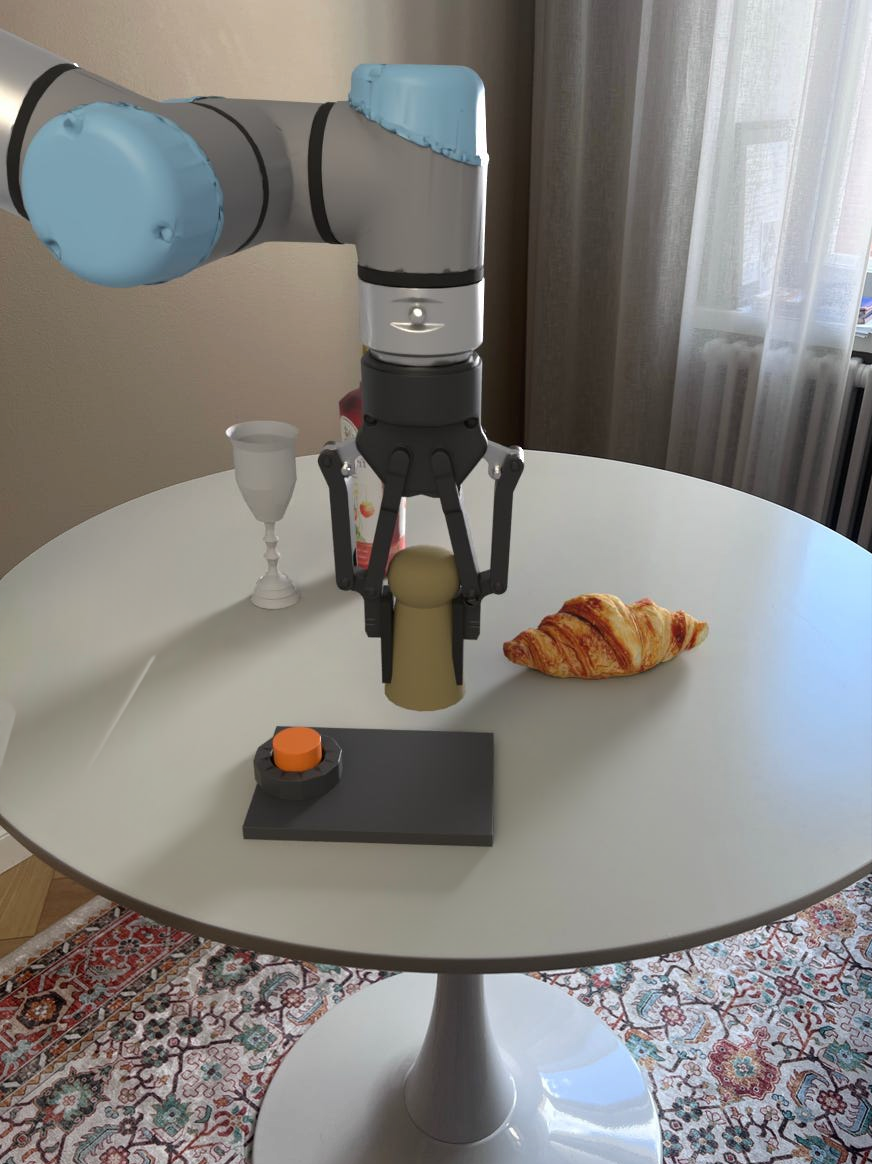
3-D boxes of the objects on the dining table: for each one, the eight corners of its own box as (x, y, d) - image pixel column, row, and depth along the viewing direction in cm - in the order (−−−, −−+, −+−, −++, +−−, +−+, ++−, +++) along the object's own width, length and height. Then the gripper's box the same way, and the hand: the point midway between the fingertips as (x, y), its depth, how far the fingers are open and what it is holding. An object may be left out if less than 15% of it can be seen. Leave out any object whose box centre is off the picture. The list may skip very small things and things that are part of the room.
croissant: (685, 660, 105) (677, 583, 105) (739, 662, 95) (731, 577, 95) (491, 687, 98) (482, 605, 98) (529, 693, 89) (519, 602, 89)
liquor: (423, 572, 114) (424, 314, 100) (367, 588, 110) (359, 322, 96) (388, 549, 119) (383, 301, 105) (333, 564, 115) (321, 308, 101)
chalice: (228, 594, 108) (211, 428, 99) (284, 577, 112) (272, 416, 103) (266, 620, 103) (251, 448, 94) (322, 600, 107) (313, 434, 98)
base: (240, 840, 74) (236, 807, 72) (274, 737, 85) (271, 707, 84) (492, 847, 74) (493, 815, 72) (492, 744, 85) (494, 714, 84)
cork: (391, 715, 72) (387, 574, 67) (378, 672, 77) (374, 538, 72) (474, 706, 73) (477, 567, 68) (456, 664, 78) (458, 531, 73)
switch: (270, 772, 77) (268, 753, 76) (279, 744, 80) (277, 725, 79) (317, 773, 77) (316, 754, 76) (325, 746, 80) (323, 727, 79)
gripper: (268, 361, 60) (295, 698, 71) (565, 369, 60) (544, 705, 71) (291, 332, 66) (312, 646, 78) (559, 339, 66) (540, 652, 78)
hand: (423, 673), depth 74 cm, fingers closed on cork, 4 cm apart
